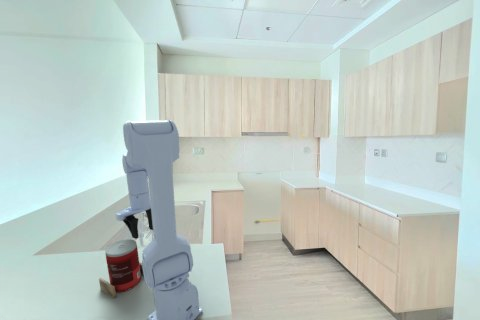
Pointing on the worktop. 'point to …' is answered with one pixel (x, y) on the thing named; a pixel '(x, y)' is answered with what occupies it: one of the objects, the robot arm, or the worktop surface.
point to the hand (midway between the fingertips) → (144, 233)
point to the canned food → (123, 265)
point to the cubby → (110, 288)
